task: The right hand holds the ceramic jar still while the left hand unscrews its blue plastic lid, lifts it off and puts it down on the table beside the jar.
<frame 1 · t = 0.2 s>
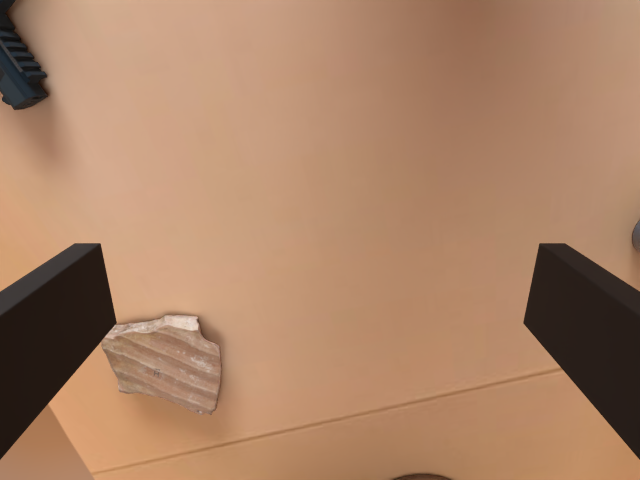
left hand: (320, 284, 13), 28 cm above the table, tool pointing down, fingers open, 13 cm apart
stone: (175, 362, 47), on the table
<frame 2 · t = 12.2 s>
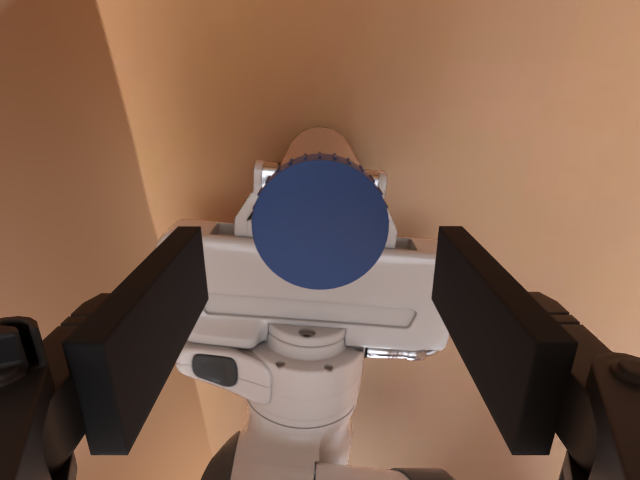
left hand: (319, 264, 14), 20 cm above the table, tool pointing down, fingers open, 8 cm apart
right hand: (320, 166, 26), fingers closed on jar, 5 cm apart
lid: (320, 226, 18), point 16 cm above the table, screwed on, not yet turned
jar: (319, 162, 32), on the table, touching right hand
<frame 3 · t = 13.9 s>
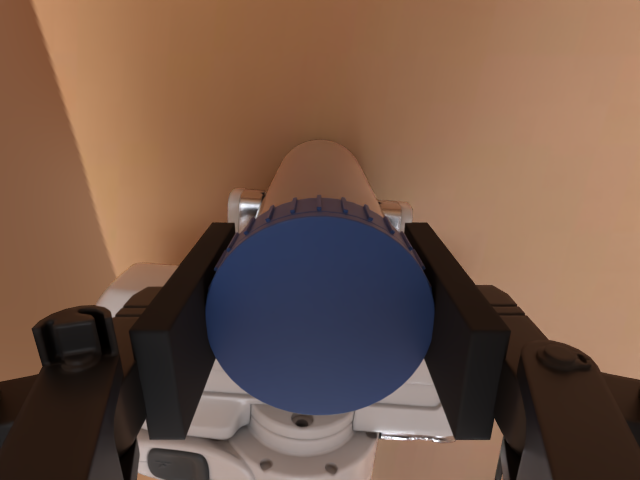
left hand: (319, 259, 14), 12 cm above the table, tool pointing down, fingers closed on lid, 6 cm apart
lid: (319, 318, 11), point 16 cm above the table, screwed on, not yet turned, touching left hand
jar: (319, 183, 25), on the table, touching right hand
when the left hand's fingers open (12 cm above the table, at t = 15.5 s): lid stays where it is, point 16 cm above the table.
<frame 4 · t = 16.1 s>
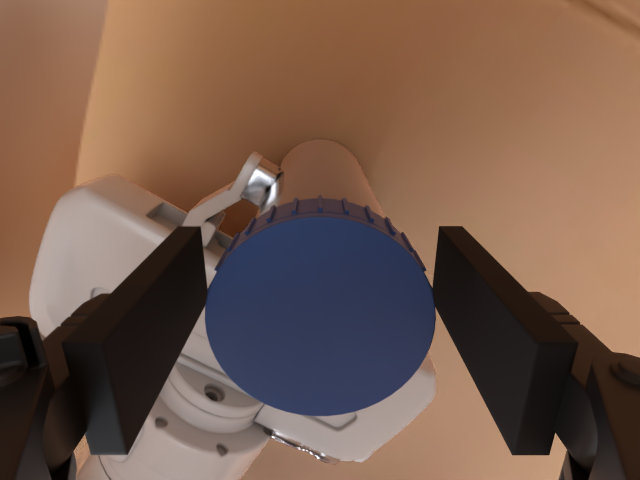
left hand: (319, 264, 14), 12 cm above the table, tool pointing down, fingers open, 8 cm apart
lid: (320, 319, 11), point 16 cm above the table, turned 101° so far, risen 0.3 cm, still on its thread
jar: (320, 183, 25), on the table, touching right hand
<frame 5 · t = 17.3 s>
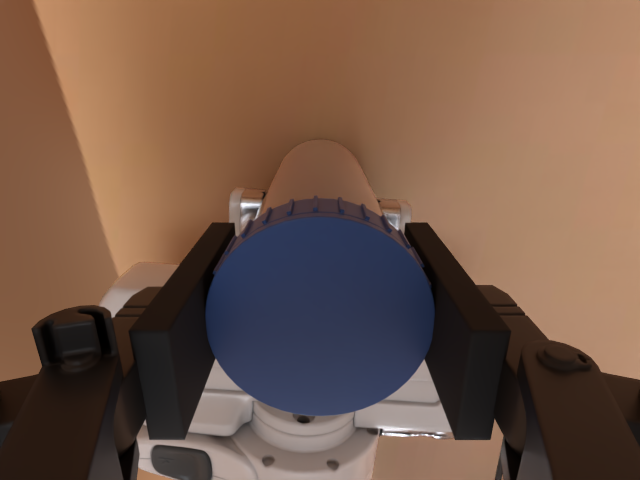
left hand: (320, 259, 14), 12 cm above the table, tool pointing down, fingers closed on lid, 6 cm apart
lid: (320, 319, 11), point 16 cm above the table, turned 101° so far, risen 0.3 cm, still on its thread, touching left hand
jar: (319, 183, 25), on the table, touching right hand
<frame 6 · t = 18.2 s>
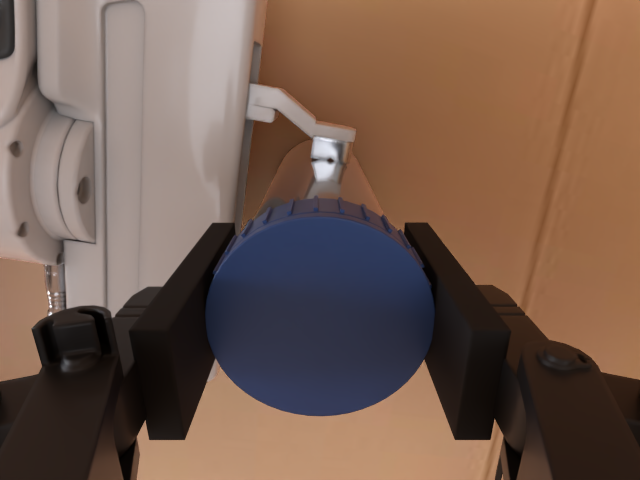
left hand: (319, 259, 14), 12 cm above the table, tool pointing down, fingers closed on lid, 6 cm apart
lid: (320, 319, 11), point 16 cm above the table, off its thread, touching left hand
jar: (319, 181, 26), on the table, touching right hand
when the left hand's fingers open (0 cm above the table, at t = 24.3 s): lid drops 3 cm, point 1 cm above the table.
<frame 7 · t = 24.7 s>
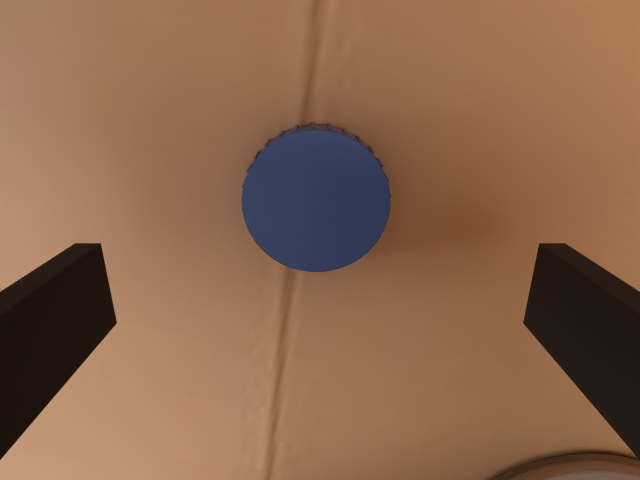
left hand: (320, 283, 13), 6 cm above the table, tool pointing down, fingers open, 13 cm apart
lid: (316, 203, 16), point 1 cm above the table, off its thread
when the right hand's fingers open (7 cm above the table, at t = 25.0 s): jar stays where it is, on the table.
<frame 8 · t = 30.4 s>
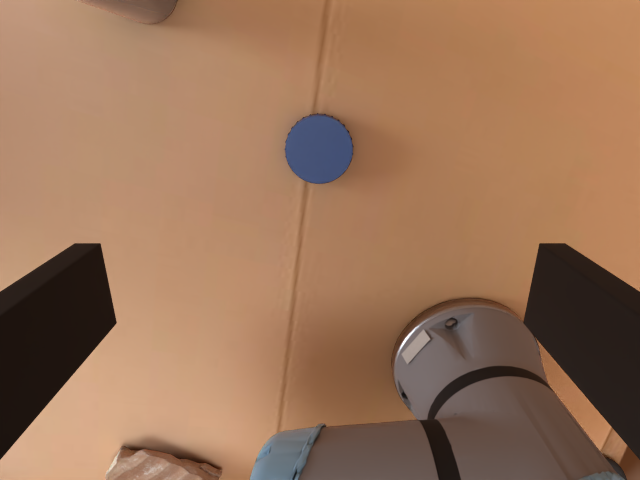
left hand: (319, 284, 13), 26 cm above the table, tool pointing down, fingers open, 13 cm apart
stone: (165, 477, 51), on the table
lid: (319, 150, 36), point 1 cm above the table, off its thread
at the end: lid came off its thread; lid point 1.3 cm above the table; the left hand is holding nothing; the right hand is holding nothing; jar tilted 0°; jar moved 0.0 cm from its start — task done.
